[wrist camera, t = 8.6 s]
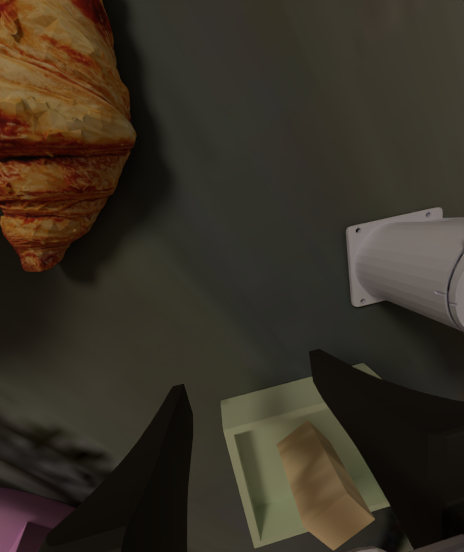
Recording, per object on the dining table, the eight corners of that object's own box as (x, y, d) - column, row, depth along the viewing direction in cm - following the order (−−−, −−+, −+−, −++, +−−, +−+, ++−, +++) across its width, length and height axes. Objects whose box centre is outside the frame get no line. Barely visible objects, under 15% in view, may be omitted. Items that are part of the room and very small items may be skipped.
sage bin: (363, 362, 25) (388, 384, 21) (370, 471, 28) (393, 504, 25) (220, 400, 23) (223, 430, 20) (248, 508, 27) (254, 548, 24)
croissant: (71, -6, 18) (-106, -195, 10) (177, -26, 15) (34, -321, 7) (49, 256, 21) (-94, 256, 14) (131, 285, 18) (3, 305, 11)
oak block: (307, 419, 25) (347, 493, 18) (330, 441, 26) (374, 519, 19) (276, 444, 25) (303, 526, 18) (299, 465, 26) (333, 550, 19)
